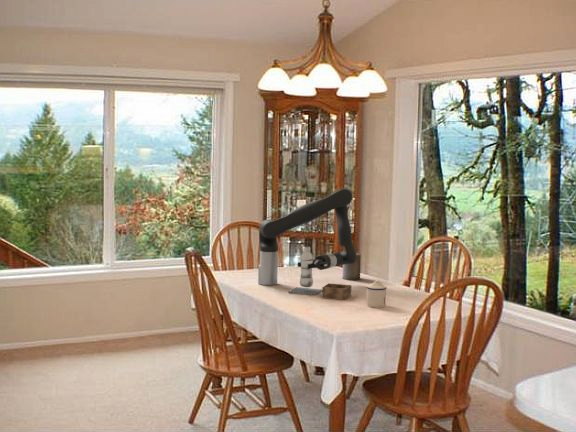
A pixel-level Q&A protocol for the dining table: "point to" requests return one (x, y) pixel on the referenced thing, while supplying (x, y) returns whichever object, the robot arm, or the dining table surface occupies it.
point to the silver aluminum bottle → (306, 268)
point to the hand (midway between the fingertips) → (303, 265)
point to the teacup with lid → (376, 295)
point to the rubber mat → (305, 291)
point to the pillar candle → (352, 269)
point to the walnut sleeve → (336, 291)
